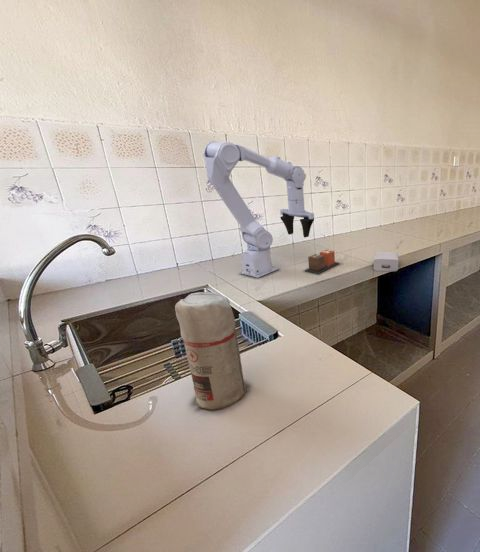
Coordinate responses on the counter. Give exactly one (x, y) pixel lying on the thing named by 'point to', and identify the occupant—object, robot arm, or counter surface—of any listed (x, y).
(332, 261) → the orange block
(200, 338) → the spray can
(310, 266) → the brown block
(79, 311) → the counter surface
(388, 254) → the charger
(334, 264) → the small dark keyboard
